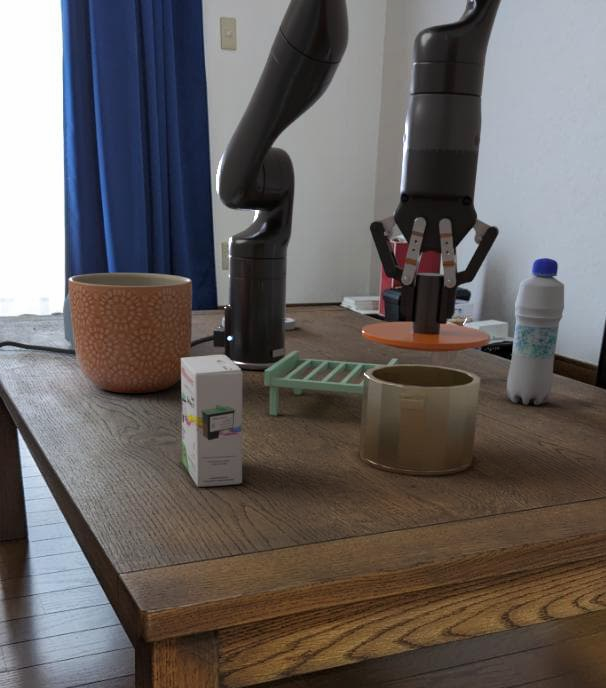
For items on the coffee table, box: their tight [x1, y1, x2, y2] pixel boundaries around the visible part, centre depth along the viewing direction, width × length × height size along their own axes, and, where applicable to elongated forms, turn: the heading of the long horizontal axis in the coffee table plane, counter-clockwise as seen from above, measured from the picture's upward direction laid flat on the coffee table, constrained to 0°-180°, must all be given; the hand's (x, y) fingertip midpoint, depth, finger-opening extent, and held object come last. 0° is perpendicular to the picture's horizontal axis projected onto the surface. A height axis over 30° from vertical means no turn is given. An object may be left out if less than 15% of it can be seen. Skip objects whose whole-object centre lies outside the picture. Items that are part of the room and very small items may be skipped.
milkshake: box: [430, 317, 469, 369], centre depth 140 cm, size 5×5×10 cm
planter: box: [67, 272, 193, 394], centre depth 128 cm, size 17×17×15 cm
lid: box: [361, 272, 491, 352], centre depth 96 cm, size 14×14×7 cm
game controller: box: [221, 316, 296, 331], centre depth 182 cm, size 15×13×2 cm
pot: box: [359, 363, 482, 477], centre depth 100 cm, size 13×18×10 cm
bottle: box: [506, 257, 565, 406], centre depth 127 cm, size 7×7×20 cm
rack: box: [263, 350, 399, 417], centre depth 122 cm, size 15×15×6 cm
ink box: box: [180, 354, 243, 488], centre depth 92 cm, size 8×5×12 cm, turn 17°
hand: (426, 320), depth 96 cm, fingers closed on lid, 3 cm apart
